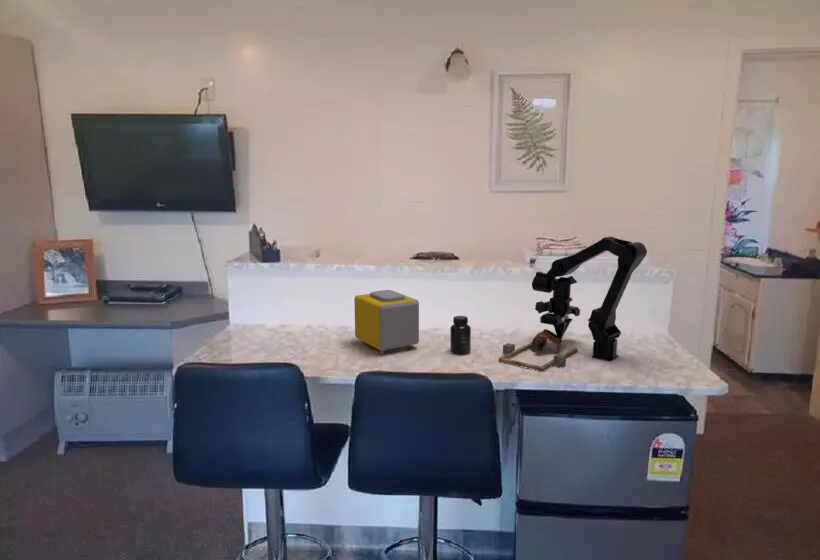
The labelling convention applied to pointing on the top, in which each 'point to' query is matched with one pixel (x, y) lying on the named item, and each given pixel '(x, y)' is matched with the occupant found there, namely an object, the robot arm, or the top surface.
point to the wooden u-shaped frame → (510, 352)
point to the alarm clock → (387, 319)
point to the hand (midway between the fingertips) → (559, 339)
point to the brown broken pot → (545, 340)
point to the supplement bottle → (460, 336)
